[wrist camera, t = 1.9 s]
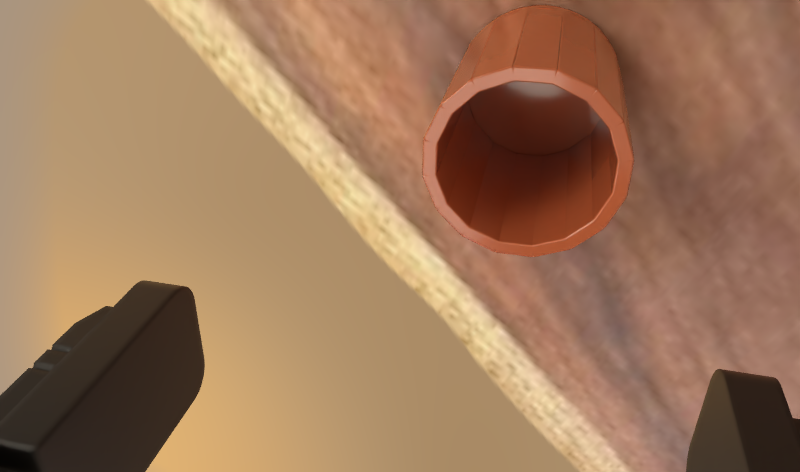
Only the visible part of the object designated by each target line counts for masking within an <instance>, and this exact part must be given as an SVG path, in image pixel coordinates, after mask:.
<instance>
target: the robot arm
mask: <svg viewBox="0 0 800 472" xmlns="http://www.w3.org/2000/svg"><path fill="white" fill-rule="evenodd" d="M203 376H204V355H203V349H202V343H201V336H200V331H199V324H198V318H197V312H196V305H195V299H194V296H193V293H192V291H191V290H190V289H189V288H188V287H184V286H178V285H171V284H165V283H158V282H151V281H140V282H138V283H137V284H136V285H134V286H133V288H131V290H129V292H128V293H127V294H126V295H125V296H124V297H123V298H122V299H121V300H120V301H119V302H118V303H117V304H116V305H115V306H114V307H109V306H105V307H104V308H102V309H100V310H98V311H96V312H95V313H93V314H91V315H89V316H87V317H85V318H84V319H82V320H80V321H78V322H76V323H75V324H74V325H73V326H72V327H71V328H70V329H69V330H68V331H67V332H66V333H65V334H63V336H61V337H60V338H59V339H58V340H57V341H56V342H55V343H54V344H53V347H52V350H47V351H46V352H45V353H44V354H43V355H42V356H41V357H40V358H39V359H38V360H37V361H36V362H35V363H34V367H33V368H28V369H27V371H25V372H24V373H23V374H22V375H21V376H20V377H19V378H18V379H17V380H16V381H15V382H14V383H13V384H12V385H11V386H10V387H9V388H8V389H7V390H6V391H5V392H4V393H2V394H1V395H0V472H145V471H146V470H147V468H148V467H149V465H150V464H151V462H152V461H153V459H154V458H155V457H156V455H157V454H158V452H159V451H160V449H161V448H162V446H163V445H164V443H165V442H166V441H167V439H168V438H169V436H170V435H171V433H172V432H173V430H174V428H175V427H176V426H177V424H178V423H179V422H180V420H181V419H182V417H183V416H184V414H185V413H186V411H187V410H188V408H189V407H190V405H191V404H192V403H193V401H194V400H195V398H196V396H197V394H198V392H199V390H200V387H201V384H202V380H203ZM686 472H800V419H795V418H792V415H791V412H790V410H789V407H788V404H787V401H786V398H785V396H784V393H783V390H782V387H781V385H780V383H779V381H778V380H777V379H776V378H774V377H768V376H761V375H755V374H748V373H742V372H735V371H728V370H722V369H718V370H716V371H715V372H714V374H713V376H712V378H711V381H710V384H709V387H708V390H707V393H706V396H705V400H704V403H703V406H702V409H701V412H700V415H699V418H698V422H697V425H696V428H695V431H694V434H693V437H692V440H691V444H690V447H689V452H688V458H687V469H686Z"/></svg>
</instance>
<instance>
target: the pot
mask: <svg viewBox="0 0 800 472" xmlns="http://www.w3.org/2000/svg"><path fill="white" fill-rule="evenodd" d="M633 165H634V154H633V147H632V140H631V134H630V127H629V120H628V114H627V107H626V100H625V94H624V87H623V81H622V77H621V73H620V69H619V63H618V60H617V57H616V53H615V51H614V49H613V47H612V45H611V43H610V42H609V40H608V39H607V37H606V36H605V35H604V33H603V32H602V31H601V30H600V29H599V28H598V27H597V26H596V25H595V24H593V23H592V22H591V21H590V20H588V19H587V18H585V17H583V16H582V15H580V14H578V13H576V12H573V11H571V10H568V9H565V8H561V7H556V6H549V5H535V6H527V7H522V8H519V9H515V10H512V11H510V12H507V13H505V14H503V15H501V16H499V17H498V18H496V19H494V20H493V21H492V22H490V23H489V24H488V25H487V26H485V27H484V28H483V29H482V30H481V31H480V32H479V33H478V34H477V36H476V37H475V38H474V39H473V40H472V42H471V43H470V45H469V47H468V49H467V51H466V53H465V55H464V57H463V59H462V61H461V63H460V65H459V67H458V69H457V71H456V73H455V75H454V77H453V79H452V81H451V83H450V85H449V87H448V89H447V91H446V93H445V95H444V97H443V99H442V101H441V104H440V106H439V108H438V110H437V112H436V114H435V116H434V118H433V120H432V122H431V124H430V126H429V128H428V130H427V132H426V134H425V136H424V140H423V164H422V175H423V179H424V181H425V184H426V186H427V189H428V191H429V194H430V196H431V198H432V201H433V203H434V206H435V208H436V209H437V211H438V212H439V213H440V214H441V215H442V216H443V217H444V218H445V219H446V220H447V221H448V222H449V223H450V225H451V226H452V227H453V228H454V229H455V230H456V231H457V232H458V233H459V234H460V235H462V236H463V237H465V238H467V239H469V240H471V241H473V242H475V243H477V244H479V245H481V246H483V247H485V248H487V249H489V250H491V251H493V252H495V251H496V252H497V253H504V254H512V255H520V256H528V257H533V256H534V257H537V256H541V255H546V254H551V253H556V252H560V251H565V250H570V249H571V248H574V247H576V246H577V245H579V244H581V243H582V242H584V241H585V240H587V239H589V238H590V237H592V236H593V235H595V234H597V233H598V232H600V231H601V230H603V229H604V228H605V227H606V226H607V224H608V223H609V221H610V220H611V219H612V217H613V216H614V215H615V213H616V212H617V210H618V209H619V208H620V206H621V205H622V204H623V202H624V201H625V199H626V197H627V195H628V190H629V185H630V180H631V175H632V170H633Z"/></svg>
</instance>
